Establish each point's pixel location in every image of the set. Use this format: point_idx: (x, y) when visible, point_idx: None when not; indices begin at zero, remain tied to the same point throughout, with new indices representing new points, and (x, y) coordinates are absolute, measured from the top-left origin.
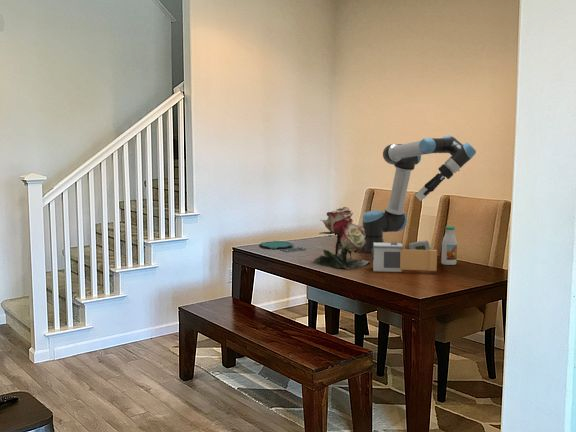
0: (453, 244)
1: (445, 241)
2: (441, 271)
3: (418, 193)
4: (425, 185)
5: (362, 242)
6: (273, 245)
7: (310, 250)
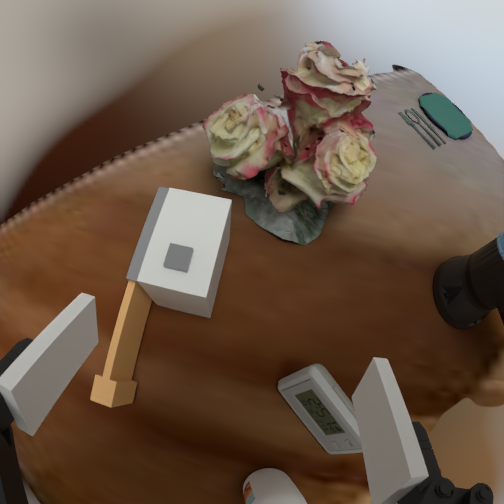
0: None
1: (263, 499)
2: (151, 427)
3: (377, 398)
4: (421, 500)
5: (234, 167)
6: (442, 110)
7: (430, 155)
